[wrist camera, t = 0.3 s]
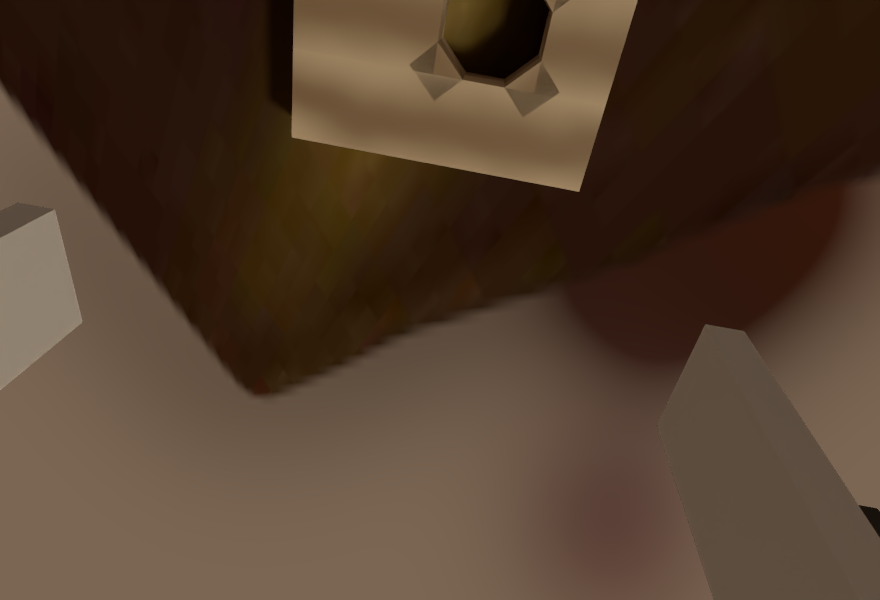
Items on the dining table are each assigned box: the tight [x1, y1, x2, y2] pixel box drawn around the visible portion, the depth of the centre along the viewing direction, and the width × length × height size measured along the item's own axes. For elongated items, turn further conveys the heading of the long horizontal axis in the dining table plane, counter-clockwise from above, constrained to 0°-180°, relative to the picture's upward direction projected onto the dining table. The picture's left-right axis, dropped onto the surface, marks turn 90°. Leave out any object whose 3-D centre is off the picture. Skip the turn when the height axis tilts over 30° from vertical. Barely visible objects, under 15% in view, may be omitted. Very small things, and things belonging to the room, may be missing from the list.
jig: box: [292, 0, 638, 192], centre depth 31 cm, size 16×18×3 cm
